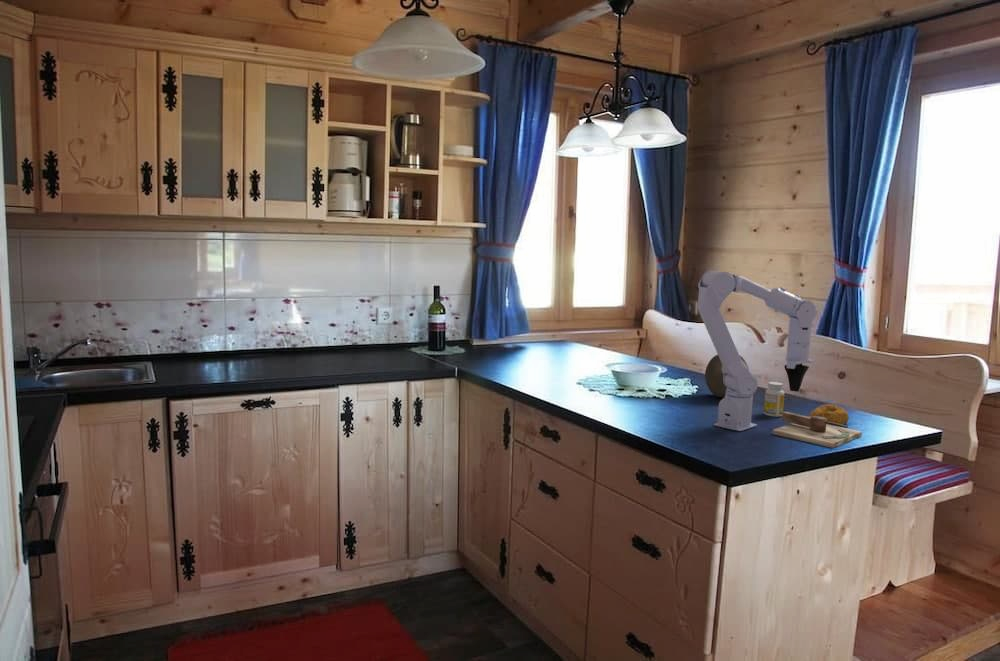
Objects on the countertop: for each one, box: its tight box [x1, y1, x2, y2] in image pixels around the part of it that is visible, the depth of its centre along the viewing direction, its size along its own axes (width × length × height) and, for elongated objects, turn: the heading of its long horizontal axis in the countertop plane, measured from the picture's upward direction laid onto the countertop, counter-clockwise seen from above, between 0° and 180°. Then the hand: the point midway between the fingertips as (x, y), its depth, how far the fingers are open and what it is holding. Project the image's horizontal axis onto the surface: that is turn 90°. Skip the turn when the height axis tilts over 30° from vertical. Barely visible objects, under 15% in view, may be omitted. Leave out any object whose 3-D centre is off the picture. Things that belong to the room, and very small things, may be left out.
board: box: [772, 423, 863, 449], centre depth 192 cm, size 18×16×1 cm
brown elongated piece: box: [781, 411, 849, 432], centre depth 193 cm, size 18×4×3 cm, turn 38°
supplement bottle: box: [763, 381, 785, 418], centre depth 213 cm, size 5×5×10 cm
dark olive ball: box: [704, 354, 750, 399], centre depth 234 cm, size 14×14×15 cm
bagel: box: [808, 403, 850, 426], centre depth 207 cm, size 10×11×5 cm
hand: (794, 390), depth 200 cm, fingers closed
